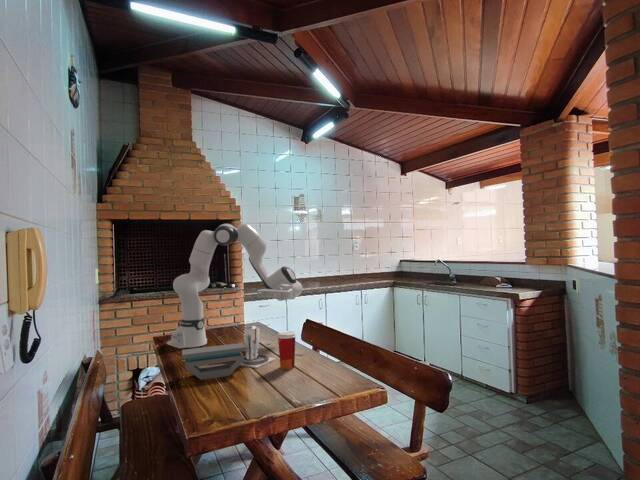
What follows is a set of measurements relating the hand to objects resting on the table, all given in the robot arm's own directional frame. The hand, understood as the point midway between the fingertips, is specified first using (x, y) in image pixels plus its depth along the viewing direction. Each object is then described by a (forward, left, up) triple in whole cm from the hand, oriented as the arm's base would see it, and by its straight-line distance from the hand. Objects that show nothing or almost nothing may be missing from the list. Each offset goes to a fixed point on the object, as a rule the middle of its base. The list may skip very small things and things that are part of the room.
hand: (265, 295), depth 192 cm
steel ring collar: (+6, -16, -28) cm, 33 cm away
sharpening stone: (+2, -37, -28) cm, 47 cm away
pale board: (+6, -16, -28) cm, 33 cm away
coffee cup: (+24, -16, -28) cm, 40 cm away
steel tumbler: (+4, -16, -27) cm, 32 cm away
